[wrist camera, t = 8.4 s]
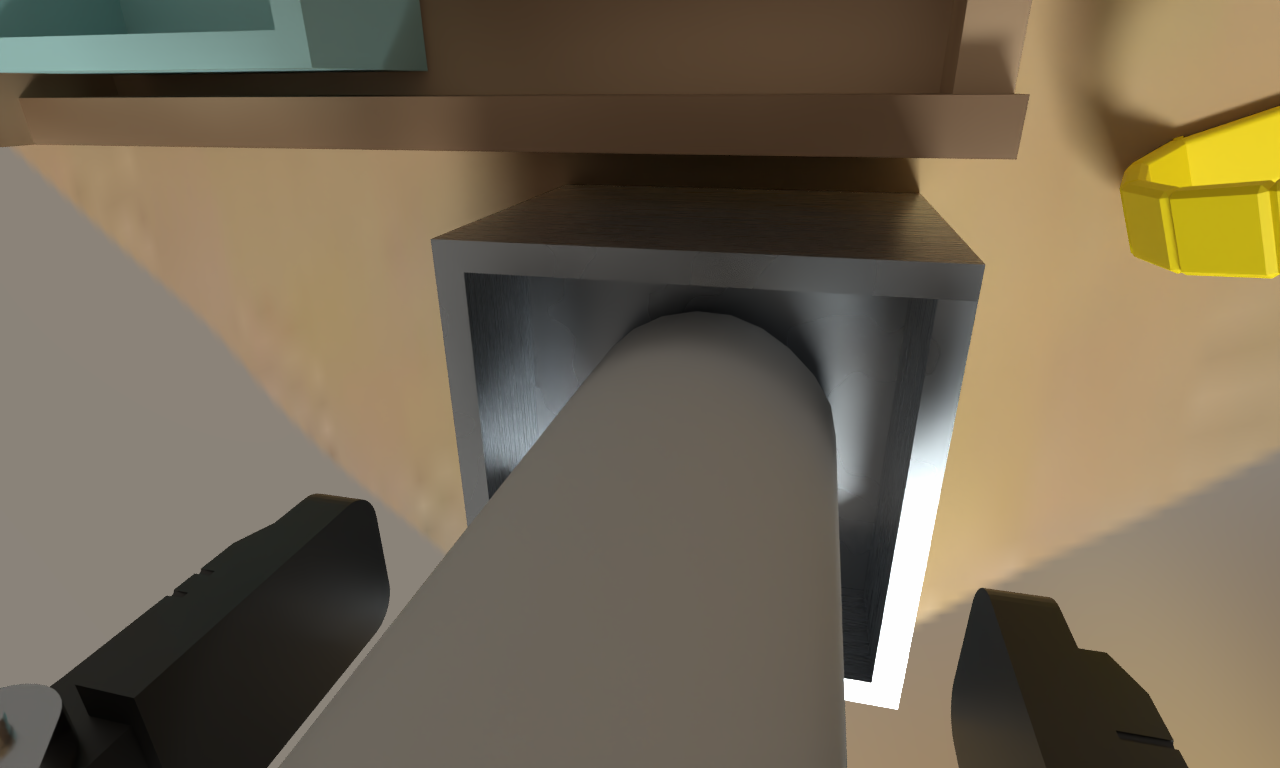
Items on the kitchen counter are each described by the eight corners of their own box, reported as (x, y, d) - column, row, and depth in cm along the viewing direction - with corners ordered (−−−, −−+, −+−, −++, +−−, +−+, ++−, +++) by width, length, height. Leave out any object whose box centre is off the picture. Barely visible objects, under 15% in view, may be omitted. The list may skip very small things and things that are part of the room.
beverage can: (639, 537, 15) (205, 1622, 5) (557, 338, 14) (-377, 1260, 3) (862, 500, 13) (1008, 2083, 3) (795, 269, 12) (579, 1783, 1)
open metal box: (567, 184, 16) (430, 239, 11) (919, 193, 15) (985, 264, 9) (580, 472, 20) (480, 634, 14) (872, 507, 18) (897, 708, 12)
